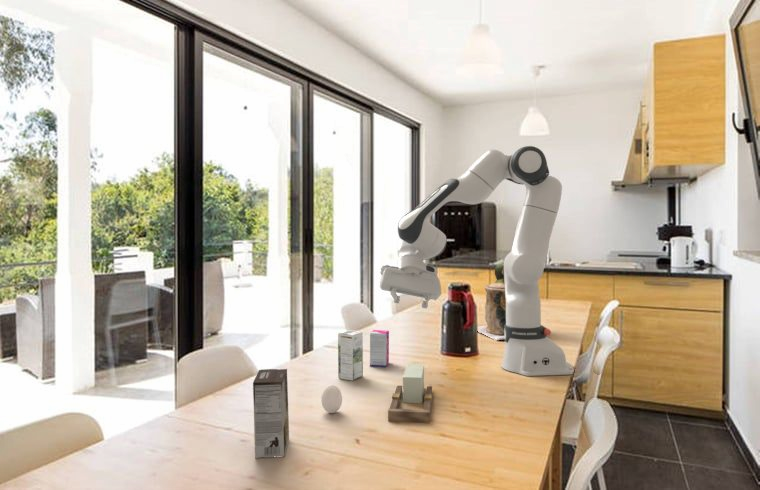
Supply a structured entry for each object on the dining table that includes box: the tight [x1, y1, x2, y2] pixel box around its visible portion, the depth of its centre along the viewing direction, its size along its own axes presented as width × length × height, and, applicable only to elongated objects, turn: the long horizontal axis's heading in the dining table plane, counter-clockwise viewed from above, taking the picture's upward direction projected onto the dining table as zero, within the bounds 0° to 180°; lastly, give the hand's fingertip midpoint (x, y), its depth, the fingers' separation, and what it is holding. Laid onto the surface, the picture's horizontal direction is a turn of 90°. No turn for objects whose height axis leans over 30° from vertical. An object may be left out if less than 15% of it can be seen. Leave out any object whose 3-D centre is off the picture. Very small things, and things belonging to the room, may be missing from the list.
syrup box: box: [337, 329, 364, 382], centre depth 153 cm, size 6×6×14 cm
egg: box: [320, 383, 343, 414], centre depth 124 cm, size 5×5×7 cm
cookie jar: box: [477, 262, 506, 341], centre depth 211 cm, size 25×25×32 cm
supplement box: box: [369, 329, 390, 368], centre depth 167 cm, size 6×6×12 cm
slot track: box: [387, 385, 433, 424], centre depth 128 cm, size 10×20×3 cm, turn 172°
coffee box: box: [252, 368, 290, 459], centre depth 105 cm, size 9×6×16 cm
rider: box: [402, 364, 425, 404], centre depth 136 cm, size 5×12×7 cm, turn 172°
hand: (410, 304), depth 154 cm, fingers open, 8 cm apart
